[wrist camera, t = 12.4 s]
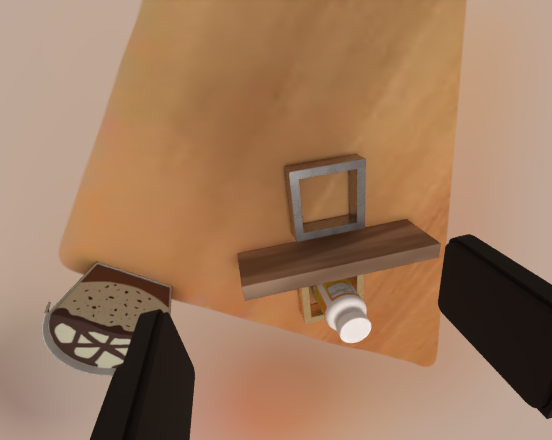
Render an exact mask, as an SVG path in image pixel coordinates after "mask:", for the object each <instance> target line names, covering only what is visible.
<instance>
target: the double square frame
mask: <svg viewBox="0 0 552 440" xmlns="http://www.w3.org/2000/svg"><path fill="white" fill-rule="evenodd" d="M365 167H366V159H365V158H363V157H361V156H359V155H357V154H354V155H349V156H343V157H337V158H331V159H326V160H320V161H314V162H308V163H303V164H297V165H291V166H285V167H284V168H285V177H286V186H287V194H288V203H289V212H290V221H291V230H292V234H293V236H294V238H295V240H296V242H299V241H304V240H309V239H313V238H318V237H323V236H328V235H333V234H338V233H343V232H348V231H353V230H357V229H362V228H365ZM348 170H349V215H345V216H340V217H335V218H330V219H325V220H320V221H315V222H310V223H304V224H303V221H302V211H301V200H300V189H299V179H303V178H309V177H315V176H320V175H326V174H331V173H337V172H342V171H348ZM350 282H351V284H352V285H353V287H354V288H355V290H356V291H357V293H358V294H359V296H360V297H361V298H362V300H363V302H364V274H363V275H359V276H354V277H350ZM298 292H299V301H300V310H301V314H302V317H303V319H304V322H305V324H308V323H312V322H316V321H321V320H325V317H324V315H323V313H322V311H321V308H320V306H319V304H318V303H316V304H312V305H310V297H309V287H305V288H300V289H298Z"/></svg>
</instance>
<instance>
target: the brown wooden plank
mask: <svg viewBox="0 0 552 440" xmlns="http://www.w3.org/2000/svg"><path fill="white" fill-rule="evenodd" d="M440 246H441V243H439V242H438V241H437V240H435V239H434V238H432V237H431V236H429V235H428V234H427V233H425V232H424V231H422V230H421V229H420V228H418V227H417V226H415V225H414V224H412V223H411V222H410V221H408V220H407V219H405V220H401V221H396V222H391V223H386V224H381V225H376V226H371V227H366V228H362V229H357V230H353V231H348V232H343V233H338V234H333V235H328V236H323V237H318V238H313V239H309V240H304V241H299V242H293V243H288V244H283V245H278V246H273V247H269V248H264V249H259V250H254V251H249V252H244V253H239V254H238V261H239V269H240V277H241V285H242V290H243V295H244V299H245V301H247V300H251V299H256V298H260V297H265V296H269V295H274V294H278V293H283V292H287V291H292V290H296V289H300V288H305V287H309V286H314V285H318V284H323V283H327V282H332V281H336V280H341V279H345V278H350V277H354V276H359V275H363V274H368V273H372V272H376V271H381V270H385V269H390V268H394V267H399V266H403V265H408V264H412V263H417V262H421V261H426V260H430V259H435V258H439V253H440Z"/></svg>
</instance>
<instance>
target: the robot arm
mask: <svg viewBox="0 0 552 440" xmlns="http://www.w3.org/2000/svg"><path fill="white" fill-rule="evenodd" d="M438 306H439V309H440V310H441V312H442V313H443V314H444V315H445V316H446V318H447V319H448V320H449V321H450V322H451V323H452V324H453V325H454V326H455V327H456V328H457V329H458V330H459V331H460V333H461V334H462V335H463V336H464V337H465V338H466V339H467V340H468V341H469V342H470V343H471V344H472V345H473V346H474V347H475V348H476V350H477V351H478V352H479V353H480V354H481V355H482V356H483V357H484V358H485V359H486V360H487V361H488V362H489V363H490V364H491V365H492V367H493V368H494V369H495V370H496V371H497V372H498V373H499V374H500V375H501V376H502V377H503V378H504V379H505V380H506V381H507V382H508V384H509V385H510V386H511V387H512V388H513V389H514V390H515V391H516V392H517V393H518V394H519V395H520V396H521V398H523V400H524V401H525V402H526V403H527V404H529V405H530V406H532V407H533V408H537V409H538V410H539V411H540V412H541V413H542V414H543V415H544V416H545V417H546V419H549V418H552V285H551V284H550V283H548V282H546V281H545V280H543V279H542V278H540V277H539V276H537V275H535V274H534V273H532V272H531V271H529V270H527V269H526V268H524V267H523V266H521V265H520V264H518V263H516V262H515V261H513V260H512V259H510V258H508V257H507V256H505V255H504V254H502V253H500V252H499V251H497V250H496V249H494V248H492V247H491V246H489V245H488V244H486V243H484V242H483V241H481V240H480V239H478V238H477V237H475V236H473V235H470V234H468V235H463V236H459V237H455V238H452V239H450V241H449V244H447V245H446V247H445V254H444V262H443V269H442V276H441V284H440V291H439V299H438ZM194 381H195V372H194V367H193V364H192V362H191V360H190V358H189V356H188V353H187V351H186V349H185V347H184V345H183V342H182V341H181V338H180V336H179V334H178V332H177V329H176V327H175V325H174V323H173V321H172V319H171V316H170V314H169V313H168V312H165V313H163V311H162V310H161V309H157V310H153V311H149V312H144V313H141V314H140V315H139V318H138V320H137V323H136V326H135V329H134V332H133V335H132V338H131V341H130V344H129V347H128V350H127V353H126V355H125V358H124V361H123V364H120V365H119V366H118V367H117V368H116V370H115V372H114V374H113V377H112V380H111V382H110V385H109V388H108V391H107V393H106V396H105V399H104V402H103V405H102V407H101V410H100V413H99V415H98V418H97V421H96V424H95V426H94V429H93V432H92V435H91V438H90V440H189V439H190V428H191V415H192V405H193V393H194Z"/></svg>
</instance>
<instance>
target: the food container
mask: <svg viewBox="0 0 552 440" xmlns="http://www.w3.org/2000/svg"><path fill="white" fill-rule="evenodd" d="M171 296H172V286H170V285H167V284H164V283H161V282H158V281H155V280H152V279H149V278H146V277H143V276H140V275H136V274H133V273H130V272H127V271H124V270H121V269H118V268H115V267H112V266H109V265H106V264H103V263H100V262H96V263H95V264H94V265H93V266H92V267H91V268H90V269H89V270H88V271H87V272H86V273H85V275H84V276H83V277H82V278H81V279H80V280H79V281H78V282H77V283H76V284H75V285H74V286H73V287H72V289H70V290H69V291H68V292H67V293H66V295H65V296H64V297H63V298H62V299H61V300H60V301H59V302H58V303H57V304H56V305H55V306H54V307H53V308H52V309H51V310H50V311H49V307H50V302H48V305H47V307H46V310H45V312H44V316H43V320H42V336H43V341H44V343H45V344H46V347H47V348H48V350H49V351H50V352H51V354H52V355H53V356H55V357H56V358H57V359H58V360H59V361H60V362H62V363H63V364H65V365H67V366H69V367H71V368H73V369H75V370H78V371H81V372H84V373H88V374H93V375H100V376H113V374H114V372H115V370H116V368H117V367H118V366H119V365H120V364H123V361H124V358H125V355H126V353H127V350H128V347H129V344H130V341H131V338H132V335H133V332H134V329H135V326H136V323H137V320H138V318H139V315H140V314H141V313H144V312H149V311H153V310H157V309H161V310H162V311H163V313H165V312H168V313H169V314H170V312H171Z"/></svg>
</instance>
